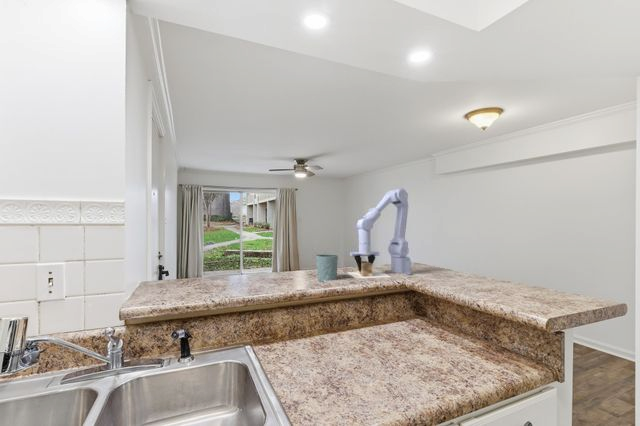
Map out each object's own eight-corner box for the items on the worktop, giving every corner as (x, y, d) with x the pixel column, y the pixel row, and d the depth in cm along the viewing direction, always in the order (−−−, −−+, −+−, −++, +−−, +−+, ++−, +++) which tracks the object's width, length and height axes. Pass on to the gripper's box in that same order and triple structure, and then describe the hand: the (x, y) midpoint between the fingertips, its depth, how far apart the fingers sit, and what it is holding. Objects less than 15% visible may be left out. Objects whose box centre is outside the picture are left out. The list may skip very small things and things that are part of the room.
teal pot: (341, 282, 134) (341, 255, 135) (320, 284, 131) (320, 256, 131) (332, 278, 144) (332, 253, 144) (312, 280, 140) (312, 254, 140)
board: (380, 273, 156) (380, 271, 156) (392, 279, 140) (392, 277, 140) (347, 274, 153) (347, 272, 153) (355, 281, 137) (355, 278, 137)
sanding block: (365, 272, 152) (365, 260, 152) (372, 276, 142) (372, 263, 142) (357, 272, 151) (357, 261, 152) (363, 276, 142) (362, 263, 142)
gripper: (376, 242, 152) (376, 269, 151) (348, 242, 149) (348, 269, 149) (380, 243, 145) (381, 271, 144) (351, 243, 142) (352, 272, 142)
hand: (364, 270), depth 146 cm, fingers closed on sanding block, 4 cm apart
